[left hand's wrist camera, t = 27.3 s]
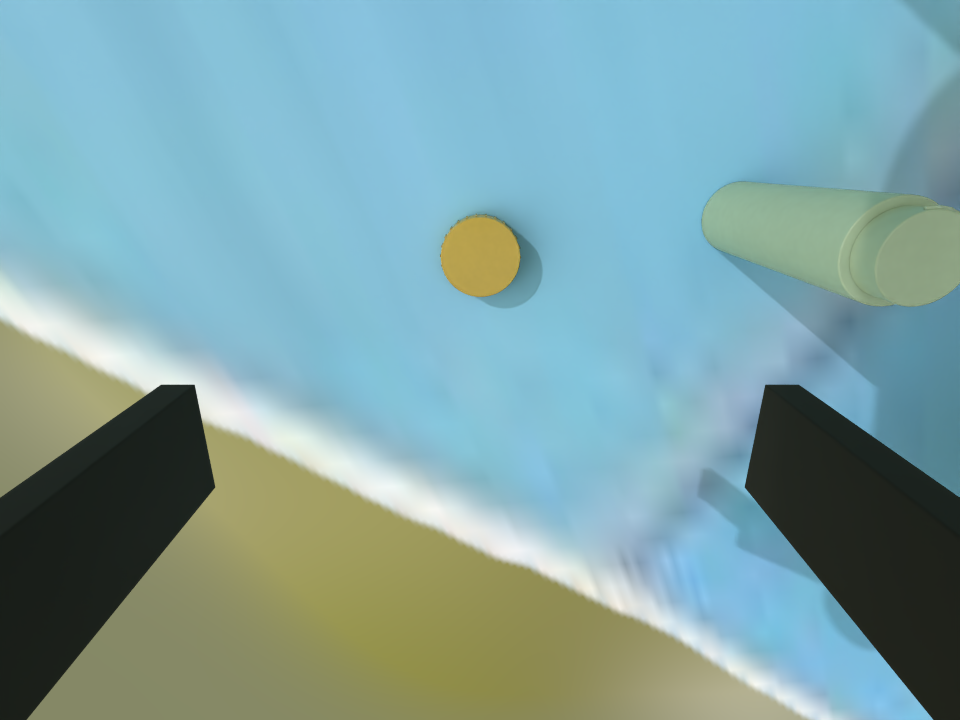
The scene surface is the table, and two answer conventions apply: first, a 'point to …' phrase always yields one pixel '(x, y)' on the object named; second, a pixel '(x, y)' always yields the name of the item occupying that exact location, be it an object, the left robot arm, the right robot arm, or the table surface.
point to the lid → (480, 255)
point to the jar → (841, 239)
